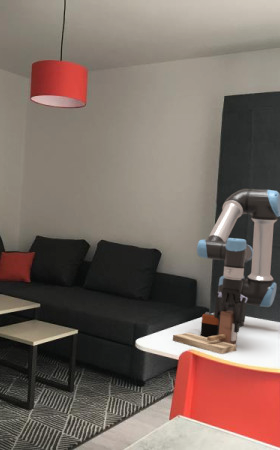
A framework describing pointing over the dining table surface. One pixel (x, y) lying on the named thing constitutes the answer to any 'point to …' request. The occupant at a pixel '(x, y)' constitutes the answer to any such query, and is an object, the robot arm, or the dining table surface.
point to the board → (204, 343)
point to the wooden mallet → (224, 328)
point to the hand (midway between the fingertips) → (227, 338)
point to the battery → (209, 325)
